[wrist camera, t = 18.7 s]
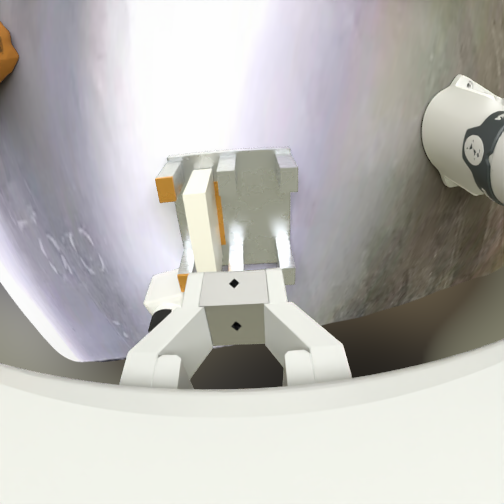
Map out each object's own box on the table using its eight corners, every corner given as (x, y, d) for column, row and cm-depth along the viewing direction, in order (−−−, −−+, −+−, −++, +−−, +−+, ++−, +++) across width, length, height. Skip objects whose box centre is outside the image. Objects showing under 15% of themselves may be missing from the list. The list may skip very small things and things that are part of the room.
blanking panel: (212, 168, 38) (205, 192, 31) (222, 255, 46) (219, 291, 39) (193, 170, 38) (182, 194, 31) (206, 256, 46) (201, 292, 39)
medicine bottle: (170, 303, 53) (159, 355, 43) (152, 274, 49) (134, 327, 40) (205, 294, 52) (199, 349, 42) (188, 264, 48) (177, 318, 38)
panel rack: (288, 146, 38) (298, 164, 31) (288, 257, 48) (294, 288, 42) (169, 155, 38) (154, 175, 31) (189, 262, 48) (182, 294, 42)
